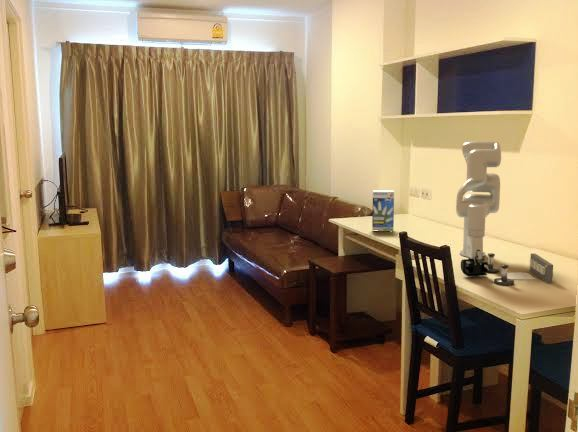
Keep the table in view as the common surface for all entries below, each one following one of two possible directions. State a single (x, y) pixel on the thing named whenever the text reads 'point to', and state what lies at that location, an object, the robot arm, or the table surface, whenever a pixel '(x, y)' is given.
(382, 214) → the string lights box
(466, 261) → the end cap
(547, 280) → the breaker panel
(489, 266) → the post left
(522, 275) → the view mat
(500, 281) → the post right
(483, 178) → the robot arm
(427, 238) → the table surface
